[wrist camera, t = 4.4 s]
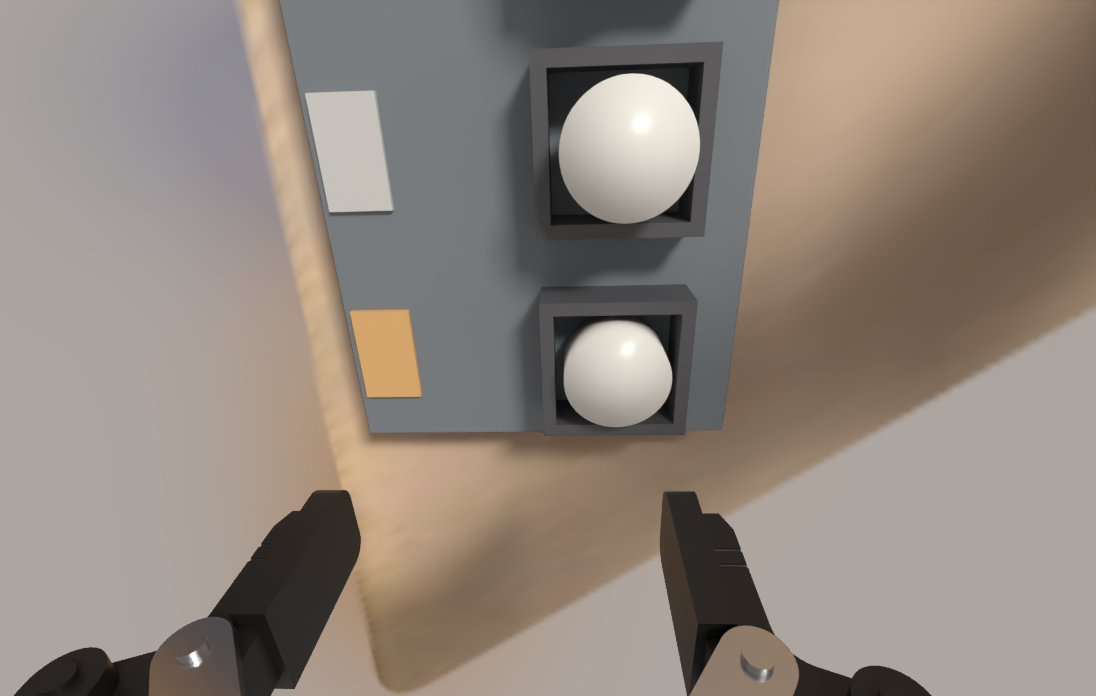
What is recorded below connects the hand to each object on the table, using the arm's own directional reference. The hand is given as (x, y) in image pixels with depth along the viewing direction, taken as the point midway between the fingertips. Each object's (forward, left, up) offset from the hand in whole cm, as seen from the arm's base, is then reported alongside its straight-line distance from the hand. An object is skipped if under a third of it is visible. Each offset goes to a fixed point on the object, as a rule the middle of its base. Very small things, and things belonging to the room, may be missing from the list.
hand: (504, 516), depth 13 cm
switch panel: (0, -8, -11) cm, 14 cm away
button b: (-3, -8, -8) cm, 12 cm away
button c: (-3, 0, -9) cm, 9 cm away
